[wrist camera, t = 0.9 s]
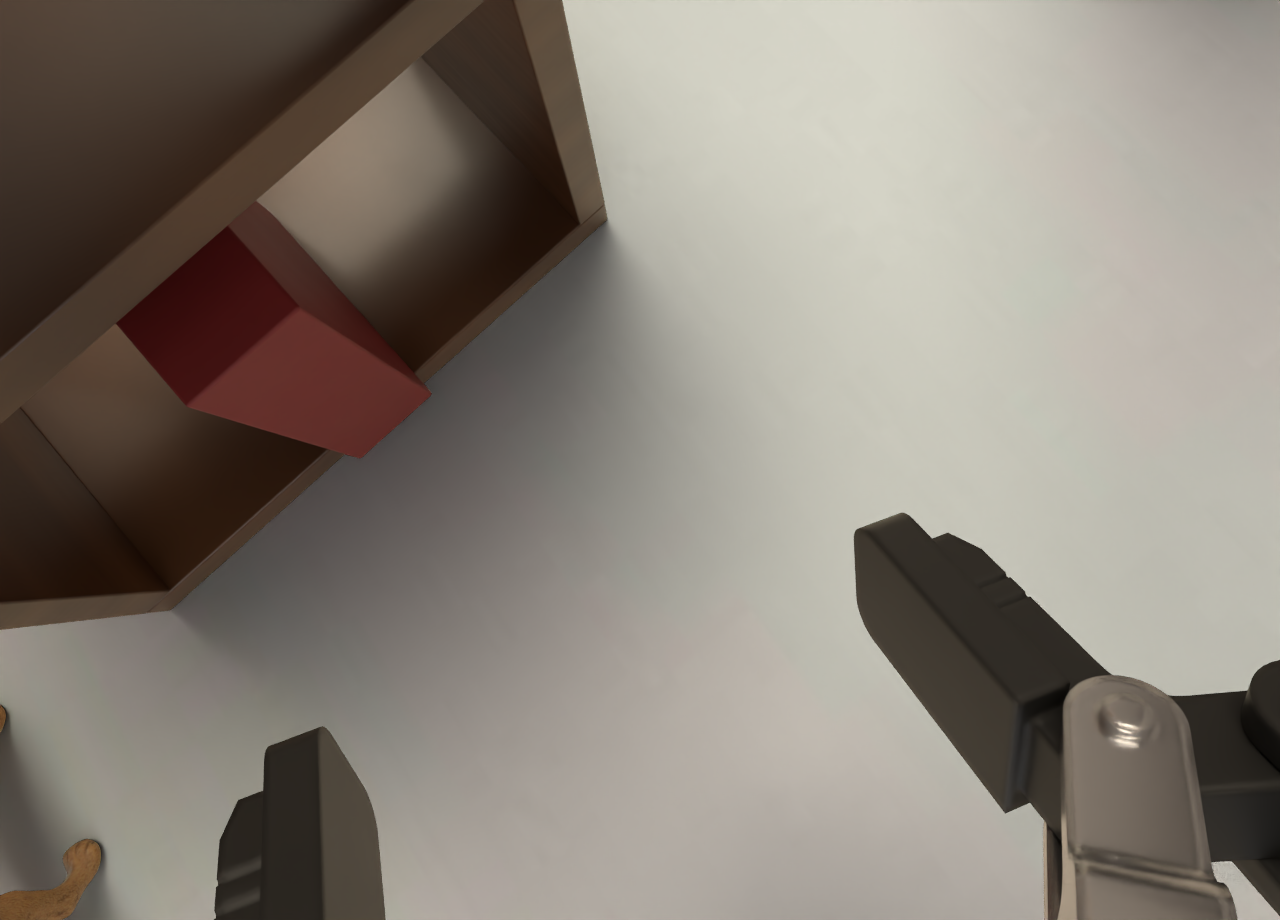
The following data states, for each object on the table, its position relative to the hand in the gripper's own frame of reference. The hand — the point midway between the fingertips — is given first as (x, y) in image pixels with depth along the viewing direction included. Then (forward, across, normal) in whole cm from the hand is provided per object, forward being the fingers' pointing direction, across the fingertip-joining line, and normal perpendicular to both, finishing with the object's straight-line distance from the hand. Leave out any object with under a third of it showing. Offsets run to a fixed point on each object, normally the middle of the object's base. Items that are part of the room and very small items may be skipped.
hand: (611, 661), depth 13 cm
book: (+22, +5, +3) cm, 23 cm away
